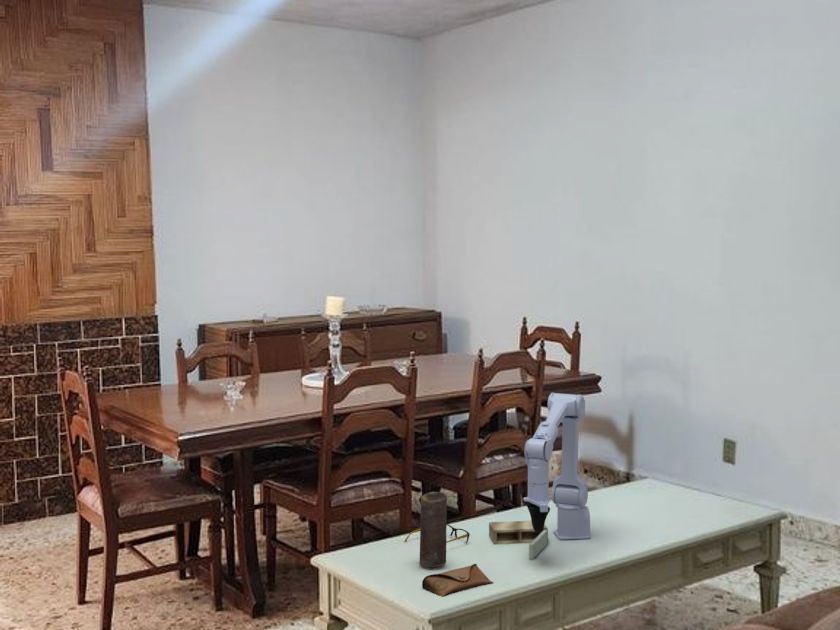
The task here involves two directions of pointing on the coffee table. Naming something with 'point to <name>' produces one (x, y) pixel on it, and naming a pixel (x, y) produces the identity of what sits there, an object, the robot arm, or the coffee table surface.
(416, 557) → the coffee table surface
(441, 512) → the candle
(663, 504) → the coffee table surface
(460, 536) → the eyeglasses
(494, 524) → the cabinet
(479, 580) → the sunglasses case
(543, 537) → the sage green panel
